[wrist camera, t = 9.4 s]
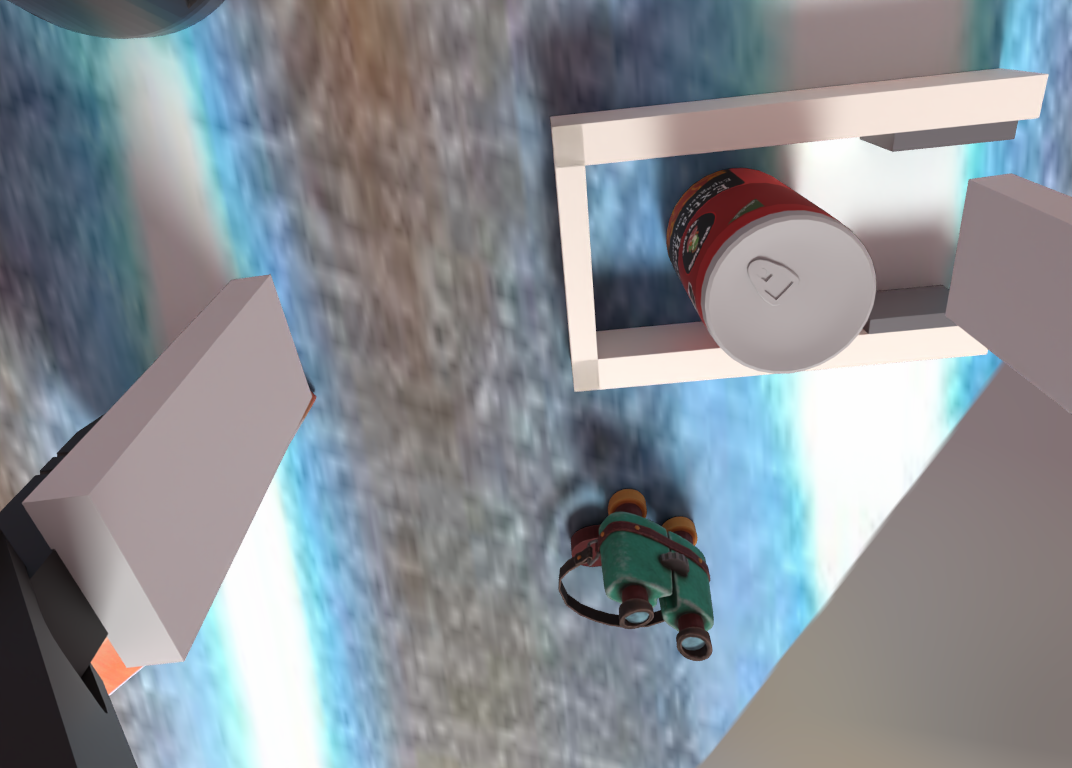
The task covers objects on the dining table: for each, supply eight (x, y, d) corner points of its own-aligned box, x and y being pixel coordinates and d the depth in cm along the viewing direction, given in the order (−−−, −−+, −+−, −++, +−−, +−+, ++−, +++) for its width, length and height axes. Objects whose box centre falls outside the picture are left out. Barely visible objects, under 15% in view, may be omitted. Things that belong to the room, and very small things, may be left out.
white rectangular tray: (550, 116, 38) (551, 127, 35) (999, 68, 37) (1048, 74, 34) (571, 362, 45) (574, 391, 42) (950, 327, 44) (986, 354, 41)
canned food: (700, 142, 39) (756, 186, 29) (823, 196, 41) (915, 254, 31) (640, 266, 42) (672, 341, 33) (756, 311, 44) (820, 397, 34)
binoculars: (537, 672, 45) (631, 585, 40) (544, 550, 54) (622, 467, 49) (649, 722, 47) (751, 645, 42) (638, 597, 56) (721, 522, 51)
